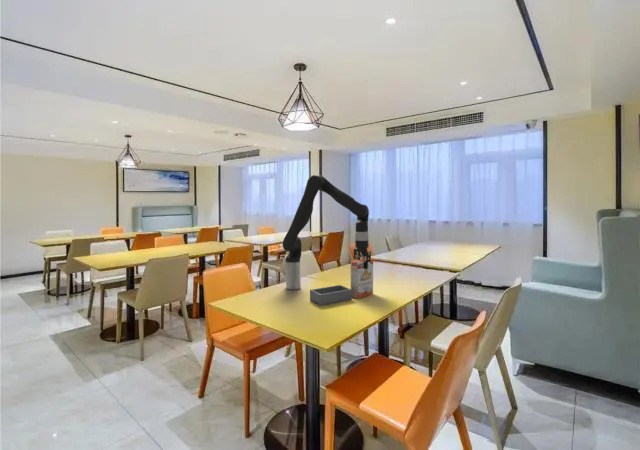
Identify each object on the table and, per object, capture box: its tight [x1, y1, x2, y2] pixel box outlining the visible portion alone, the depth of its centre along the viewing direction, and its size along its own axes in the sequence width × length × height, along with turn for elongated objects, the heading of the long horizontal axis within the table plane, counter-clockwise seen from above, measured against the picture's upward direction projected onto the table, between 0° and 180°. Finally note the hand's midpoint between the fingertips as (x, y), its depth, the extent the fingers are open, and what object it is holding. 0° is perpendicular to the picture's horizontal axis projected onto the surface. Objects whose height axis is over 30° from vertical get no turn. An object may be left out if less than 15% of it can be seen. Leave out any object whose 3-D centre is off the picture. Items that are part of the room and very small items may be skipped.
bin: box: [309, 284, 353, 307], centre depth 187 cm, size 12×20×6 cm, turn 119°
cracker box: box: [350, 258, 374, 299], centre depth 194 cm, size 14×6×21 cm, turn 133°
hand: (362, 267), depth 194 cm, fingers closed on cracker box, 6 cm apart
